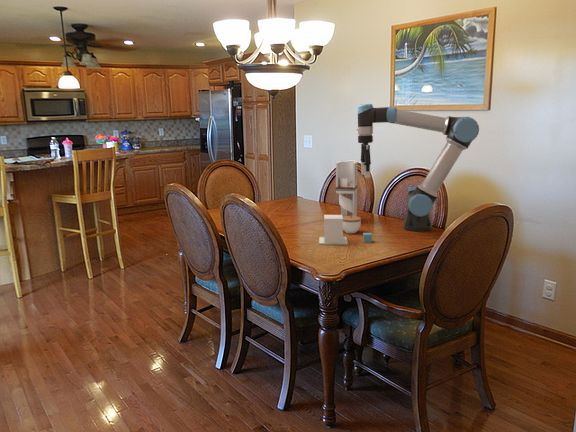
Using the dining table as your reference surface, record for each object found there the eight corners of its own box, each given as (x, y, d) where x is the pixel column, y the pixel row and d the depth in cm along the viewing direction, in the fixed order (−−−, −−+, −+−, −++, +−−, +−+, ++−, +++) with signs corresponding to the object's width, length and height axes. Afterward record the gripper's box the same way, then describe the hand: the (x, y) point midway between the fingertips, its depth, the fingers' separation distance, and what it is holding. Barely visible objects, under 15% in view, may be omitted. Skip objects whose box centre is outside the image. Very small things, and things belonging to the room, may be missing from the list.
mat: (346, 238, 241) (346, 237, 241) (347, 244, 229) (347, 243, 229) (319, 238, 242) (319, 237, 242) (319, 244, 230) (319, 243, 230)
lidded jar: (345, 235, 247) (345, 217, 245) (337, 230, 257) (337, 213, 255) (364, 233, 250) (364, 216, 248) (356, 229, 260) (356, 212, 258)
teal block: (371, 240, 236) (371, 232, 235) (371, 242, 232) (372, 234, 231) (363, 240, 236) (363, 232, 236) (363, 242, 232) (363, 234, 232)
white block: (341, 237, 239) (342, 214, 237) (342, 242, 231) (342, 218, 228) (324, 237, 240) (324, 214, 237) (324, 242, 231) (324, 218, 229)
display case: (339, 219, 284) (339, 161, 277) (356, 219, 282) (357, 161, 274) (335, 223, 274) (336, 163, 266) (353, 224, 271) (354, 163, 263)
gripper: (355, 134, 254) (355, 173, 258) (361, 136, 229) (361, 179, 233) (369, 133, 253) (369, 173, 258) (376, 135, 229) (376, 178, 233)
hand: (365, 176), depth 246 cm, fingers open, 13 cm apart
